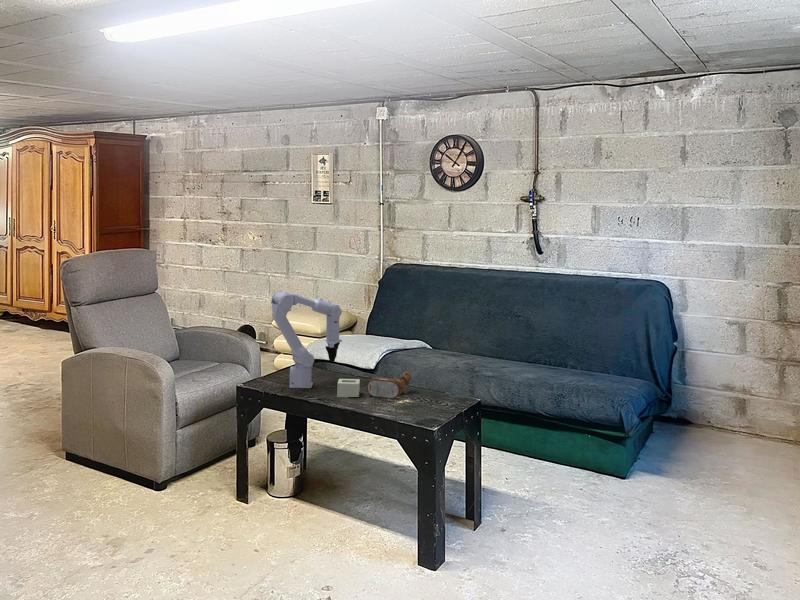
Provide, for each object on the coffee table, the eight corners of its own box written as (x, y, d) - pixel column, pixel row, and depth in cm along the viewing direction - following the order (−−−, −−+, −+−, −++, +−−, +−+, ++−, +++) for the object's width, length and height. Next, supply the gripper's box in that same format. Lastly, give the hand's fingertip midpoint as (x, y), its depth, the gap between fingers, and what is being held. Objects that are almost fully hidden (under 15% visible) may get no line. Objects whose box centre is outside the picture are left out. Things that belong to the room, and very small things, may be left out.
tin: (401, 398, 298) (402, 379, 297) (399, 400, 295) (400, 380, 294) (367, 395, 302) (368, 375, 301) (365, 396, 299) (366, 377, 298)
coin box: (337, 397, 296) (337, 383, 296) (338, 392, 304) (338, 378, 304) (358, 397, 297) (358, 383, 296) (359, 392, 304) (359, 379, 304)
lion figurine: (405, 389, 312) (406, 370, 311) (413, 392, 308) (414, 372, 307) (379, 394, 302) (380, 374, 301) (387, 397, 298) (388, 377, 297)
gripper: (340, 333, 310) (340, 363, 312) (342, 327, 325) (342, 356, 327) (324, 333, 310) (324, 363, 312) (327, 327, 325) (327, 356, 327)
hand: (332, 359), depth 319 cm, fingers open, 7 cm apart
